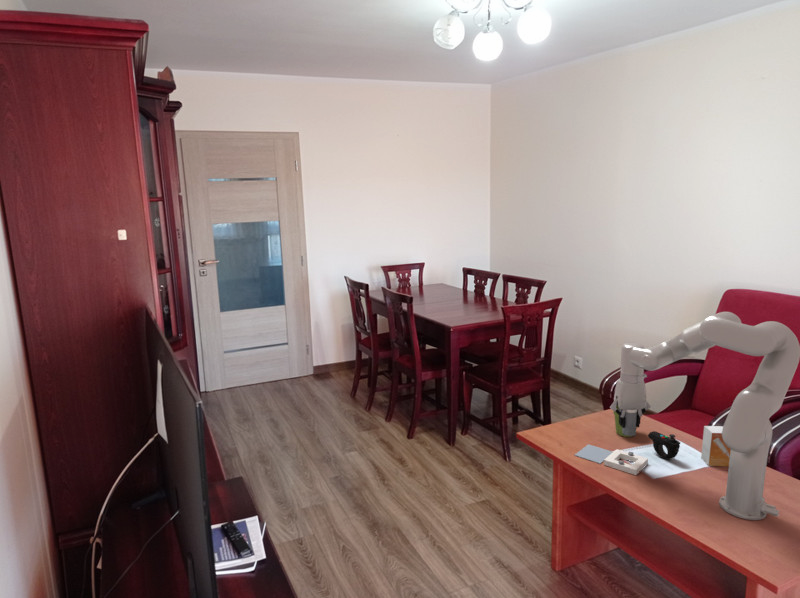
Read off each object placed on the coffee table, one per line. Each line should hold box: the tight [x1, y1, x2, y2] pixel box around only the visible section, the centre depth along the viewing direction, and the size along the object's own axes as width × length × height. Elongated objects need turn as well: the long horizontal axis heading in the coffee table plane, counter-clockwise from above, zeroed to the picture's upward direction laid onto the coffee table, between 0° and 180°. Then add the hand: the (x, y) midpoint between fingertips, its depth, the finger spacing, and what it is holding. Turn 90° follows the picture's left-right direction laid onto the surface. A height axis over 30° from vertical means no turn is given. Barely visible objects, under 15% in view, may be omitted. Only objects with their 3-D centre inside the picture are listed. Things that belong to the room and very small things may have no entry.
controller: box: [647, 430, 681, 460], centre depth 202 cm, size 4×12×10 cm, turn 23°
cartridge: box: [622, 409, 637, 437], centre depth 194 cm, size 5×5×10 cm
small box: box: [700, 425, 731, 468], centre depth 197 cm, size 8×6×13 cm
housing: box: [603, 448, 649, 476], centre depth 197 cm, size 12×12×3 cm
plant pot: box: [613, 406, 638, 438], centre depth 222 cm, size 12×12×11 cm
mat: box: [574, 443, 614, 465], centre depth 206 cm, size 10×12×1 cm
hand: (629, 425), depth 194 cm, fingers closed on cartridge, 4 cm apart
